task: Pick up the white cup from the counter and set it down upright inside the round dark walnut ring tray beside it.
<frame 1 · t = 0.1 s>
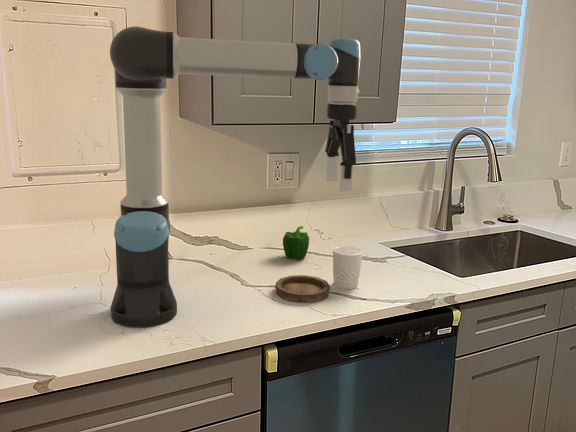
hand: (338, 185, 148), 28 cm above the worktop, tool pointing down, fingers open, 13 cm apart
white cup: (345, 285, 155), on the worktop
ring tray: (302, 292, 149), on the worktop
bell pepper: (296, 258, 177), on the worktop
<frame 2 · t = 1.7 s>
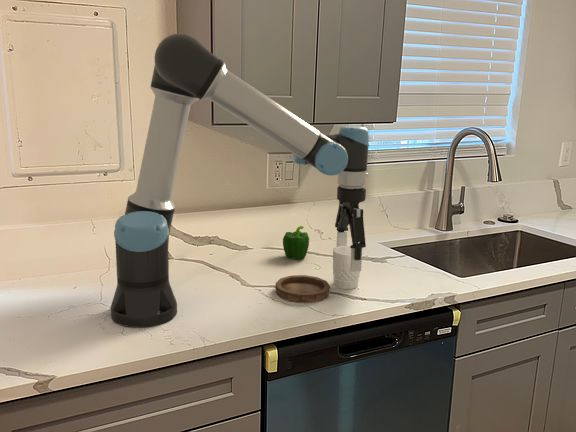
hand: (348, 262, 154), 7 cm above the worktop, tool pointing down, fingers open, 13 cm apart
nothing on the worktop moved.
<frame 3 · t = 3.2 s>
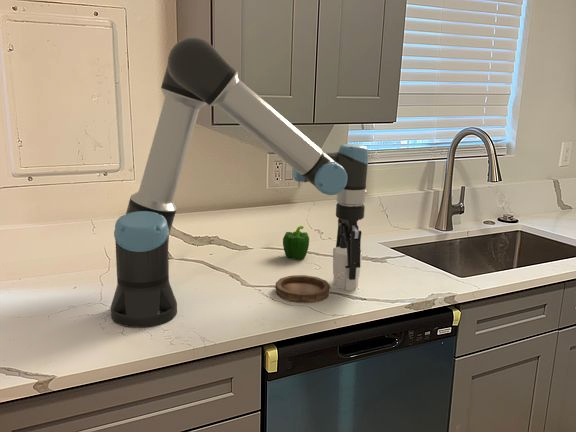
hand: (345, 284, 155), 0 cm above the worktop, tool pointing down, fingers closed on white cup, 8 cm apart
white cup: (345, 285, 155), on the worktop, touching gripper
everything else where it was.
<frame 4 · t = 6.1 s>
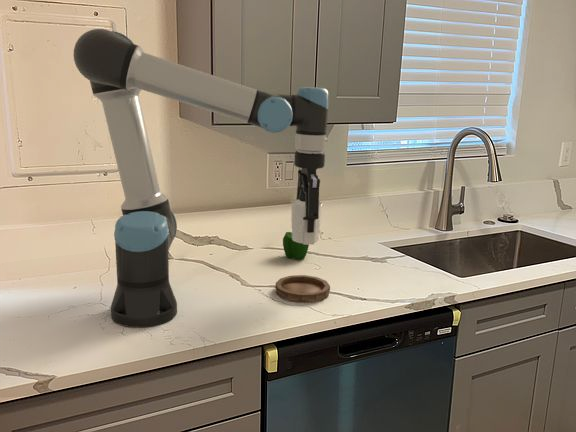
hand: (304, 239, 146), 15 cm above the worktop, tool pointing down, fingers closed on white cup, 8 cm apart
white cup: (304, 240, 146), point 14 cm above the worktop, touching gripper
everything else where it was.
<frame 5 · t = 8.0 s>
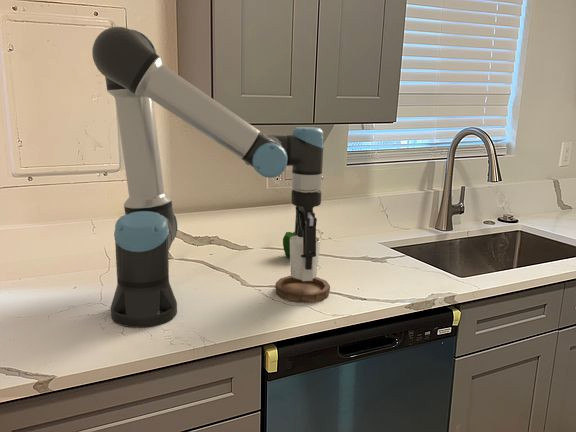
hand: (303, 274, 148), 5 cm above the worktop, tool pointing down, fingers closed on white cup, 8 cm apart
white cup: (303, 276, 148), point 5 cm above the worktop, touching gripper
everything else where it was.
when the fingers open (3 cm above the worktop, at t = 9.3 s): white cup drops 1 cm, resting on ring tray.
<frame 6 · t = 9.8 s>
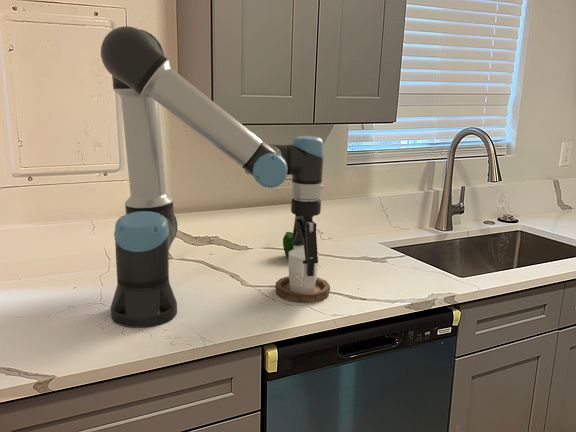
hand: (303, 277, 148), 4 cm above the worktop, tool pointing down, fingers open, 13 cm apart
white cup: (302, 289, 149), point 1 cm above the worktop, touching ring tray
everything else where it was.
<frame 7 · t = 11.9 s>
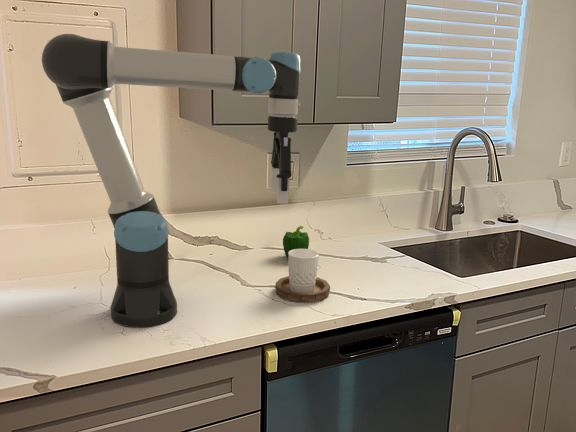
hand: (279, 197, 149), 24 cm above the worktop, tool pointing down, fingers open, 13 cm apart
nothing on the worktop moved.
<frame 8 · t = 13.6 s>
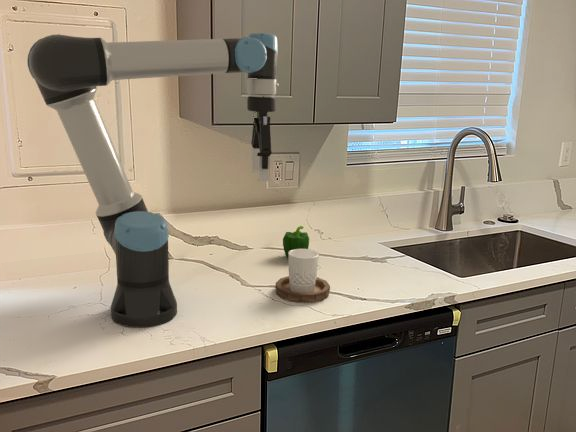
hand: (260, 176, 152), 29 cm above the worktop, tool pointing down, fingers open, 13 cm apart
nothing on the worktop moved.
at the end: white cup 0.2 cm from the ring tray (horizontally); white cup tilted 0°; the gripper is holding nothing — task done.
